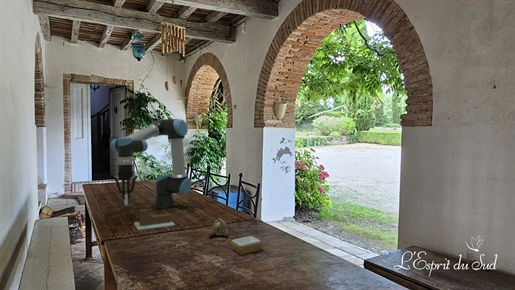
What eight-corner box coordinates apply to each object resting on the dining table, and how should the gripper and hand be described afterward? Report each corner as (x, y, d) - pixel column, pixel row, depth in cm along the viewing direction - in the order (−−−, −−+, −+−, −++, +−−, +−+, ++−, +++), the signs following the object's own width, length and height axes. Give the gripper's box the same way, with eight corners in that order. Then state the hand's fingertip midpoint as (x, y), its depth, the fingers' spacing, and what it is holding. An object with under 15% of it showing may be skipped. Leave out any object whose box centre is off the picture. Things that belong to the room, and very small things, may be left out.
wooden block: (140, 211, 189) (171, 207, 197) (139, 209, 192) (169, 206, 201) (140, 226, 189) (171, 222, 198) (139, 224, 193) (169, 220, 202)
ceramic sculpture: (229, 215, 185) (228, 224, 170) (229, 229, 186) (228, 240, 171) (210, 215, 184) (207, 224, 169) (210, 230, 185) (207, 240, 170)
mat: (168, 219, 206) (168, 218, 206) (175, 225, 193) (175, 224, 193) (134, 223, 196) (133, 222, 196) (137, 230, 183) (137, 229, 183)
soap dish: (252, 245, 163) (252, 235, 162) (262, 251, 154) (263, 240, 154) (230, 249, 156) (230, 239, 156) (240, 256, 148) (240, 245, 147)
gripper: (113, 165, 179) (114, 207, 180) (138, 164, 185) (139, 204, 187) (112, 163, 186) (113, 204, 187) (136, 162, 192) (137, 202, 193)
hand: (126, 204), depth 187 cm, fingers closed
